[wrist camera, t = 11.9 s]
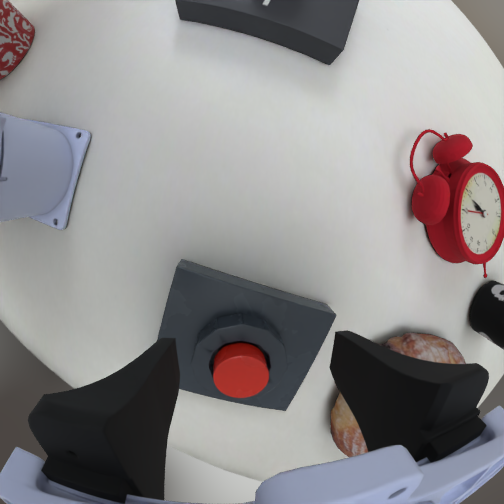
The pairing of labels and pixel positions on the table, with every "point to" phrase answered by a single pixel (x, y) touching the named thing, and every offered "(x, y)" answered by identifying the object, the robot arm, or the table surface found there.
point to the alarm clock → (460, 203)
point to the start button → (240, 370)
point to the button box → (242, 331)
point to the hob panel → (281, 21)
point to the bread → (409, 344)
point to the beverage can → (489, 312)
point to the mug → (13, 37)
